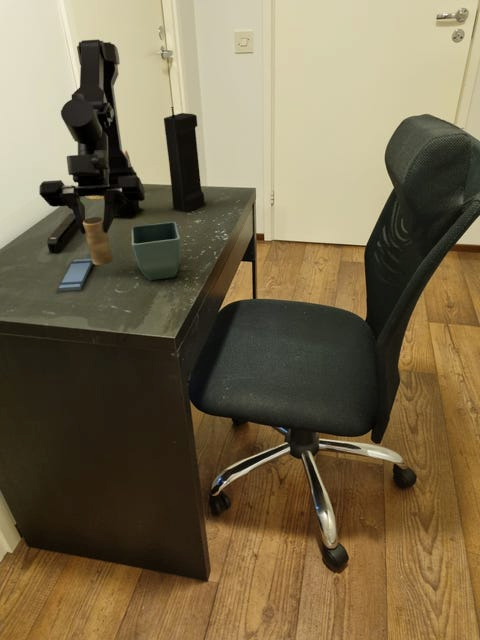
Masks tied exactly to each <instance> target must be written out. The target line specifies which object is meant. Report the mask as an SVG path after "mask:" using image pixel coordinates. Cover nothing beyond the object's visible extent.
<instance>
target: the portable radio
mask: <svg viewBox="0 0 480 640" xmlns="http://www.w3.org/2000/svg"><path fill="white" fill-rule="evenodd" d="M170 108H171V113H172V115H169V116H166V117H164V118H163V125H164V132H165V133H164V134H165V141H166V149H167V157H168V167H169V177H170V186H171V195H172V197H171V199H172V207H173V209H174V210H176V211H177V210H178V211H181V212H193V211H194V210H197V209H198V208H201V207H203V206H204V205H205V195H204V192H203V190H202V185H201V184H202V183H201V174H200V164H199V163H200V162H199V153H198V144H197V143H198V141H197V134H196V133H197V132H196V128H197V127H198V116H197V115H196V114H194V113H188V112H187V113H185V112H181V113H177V114H175V113H174V106H171V107H170Z"/></svg>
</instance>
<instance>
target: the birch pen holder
mask: <svg viewBox="0 0 480 640" xmlns="http://www.w3.org/2000/svg"><path fill="white" fill-rule="evenodd" d="M103 219H104V217H102V216H92V217H88V218H85V220H84V221H83V226H84V230H85V234H84V235H85V238H86V241H87V245H88V249H89V253H90V259H92V261H93V264H92V265H95V266H105V265H108V264H110V263H112V262H113V261H114V257H113V252H112V247H111V242H110V238H109V235H108V232H107V233H105V232H104V228H103Z"/></svg>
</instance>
